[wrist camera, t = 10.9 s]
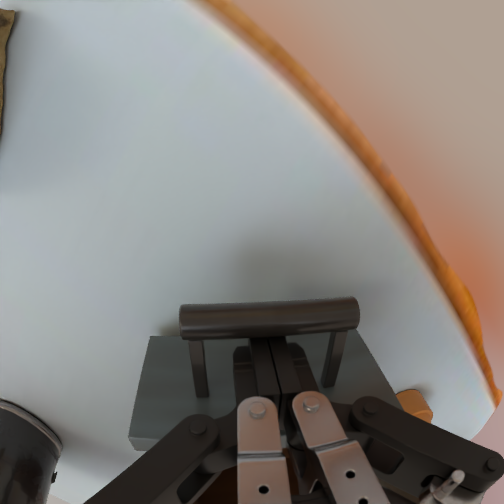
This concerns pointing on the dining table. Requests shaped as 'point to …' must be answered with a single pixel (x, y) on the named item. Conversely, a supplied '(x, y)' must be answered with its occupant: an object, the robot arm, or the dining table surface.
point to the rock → (3, 22)
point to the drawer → (221, 368)
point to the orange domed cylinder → (415, 404)
